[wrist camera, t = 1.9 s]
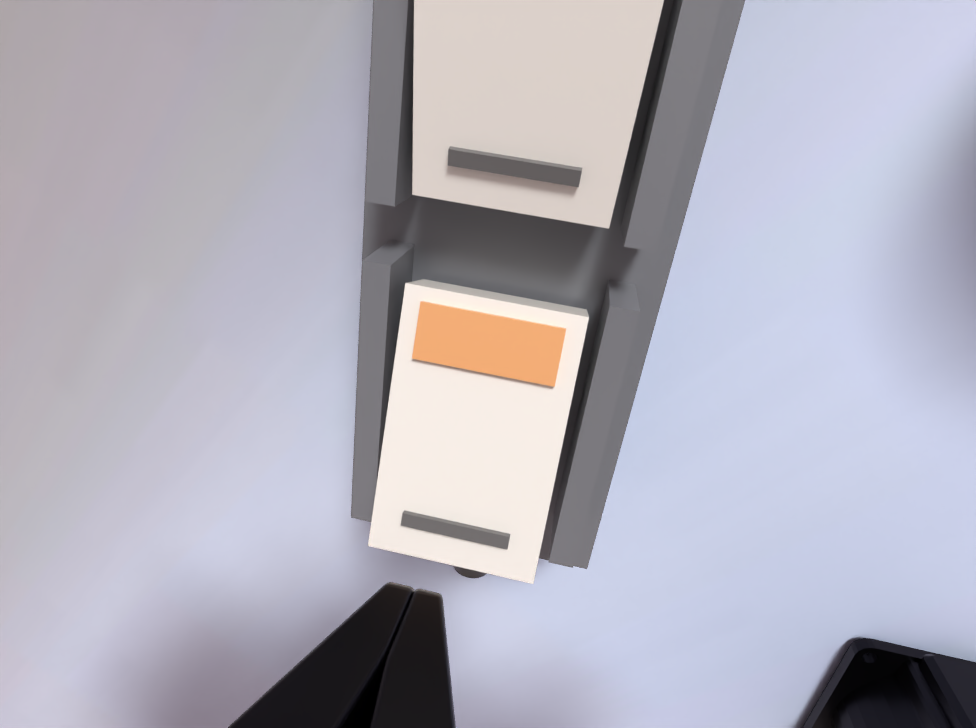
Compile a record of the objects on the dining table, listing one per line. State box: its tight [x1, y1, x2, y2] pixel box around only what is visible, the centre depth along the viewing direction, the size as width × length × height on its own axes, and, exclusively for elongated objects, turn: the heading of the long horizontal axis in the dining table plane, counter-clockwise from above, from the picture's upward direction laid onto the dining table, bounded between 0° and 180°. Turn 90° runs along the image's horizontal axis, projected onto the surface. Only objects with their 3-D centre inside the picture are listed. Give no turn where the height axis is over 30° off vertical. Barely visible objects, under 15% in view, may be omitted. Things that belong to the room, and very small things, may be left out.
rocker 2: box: [412, 0, 664, 229], centre depth 10 cm, size 6×4×2 cm, turn 173°
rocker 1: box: [368, 279, 589, 584], centre depth 14 cm, size 6×4×2 cm, turn 172°
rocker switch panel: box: [351, 0, 745, 578], centre depth 14 cm, size 30×7×6 cm, turn 172°
